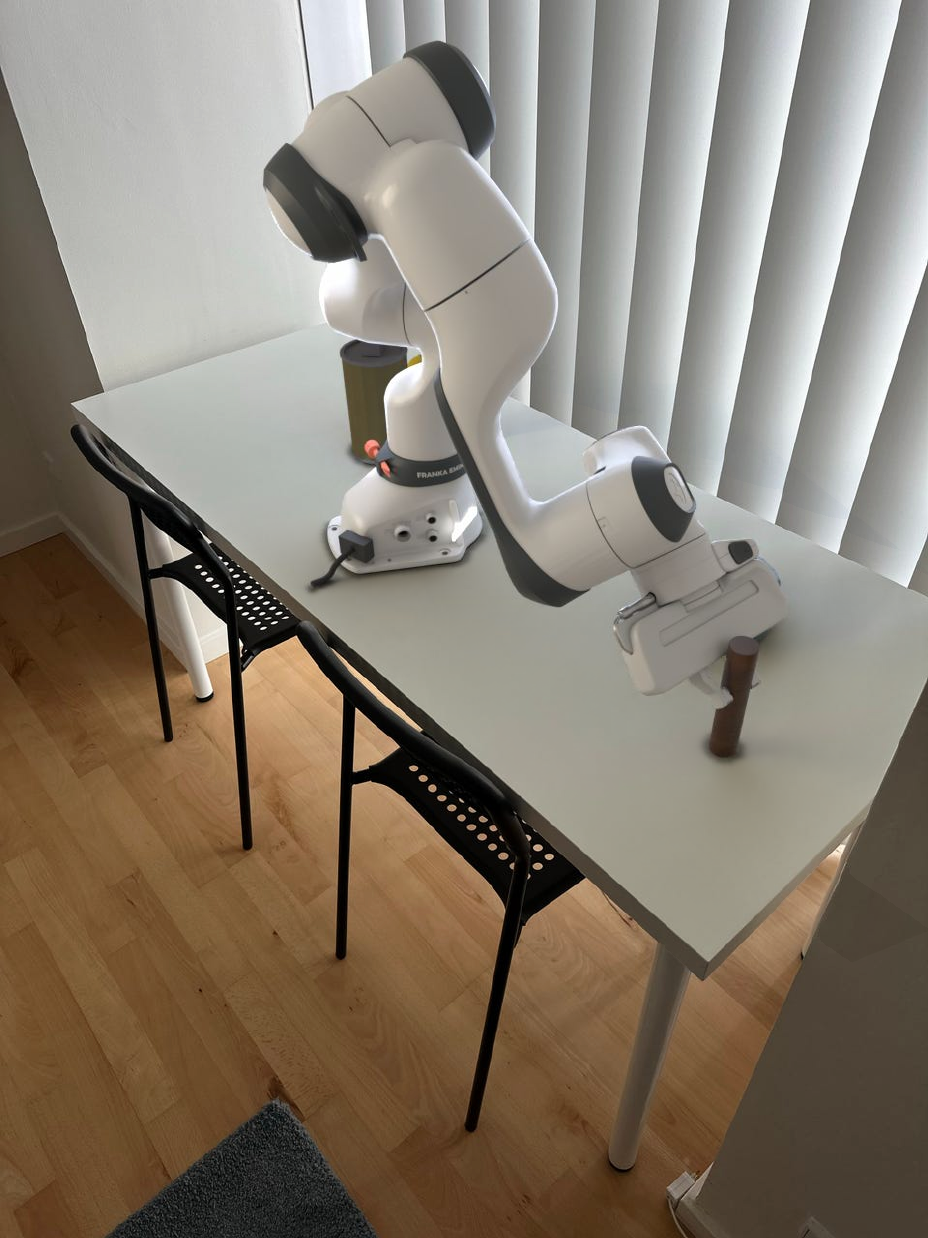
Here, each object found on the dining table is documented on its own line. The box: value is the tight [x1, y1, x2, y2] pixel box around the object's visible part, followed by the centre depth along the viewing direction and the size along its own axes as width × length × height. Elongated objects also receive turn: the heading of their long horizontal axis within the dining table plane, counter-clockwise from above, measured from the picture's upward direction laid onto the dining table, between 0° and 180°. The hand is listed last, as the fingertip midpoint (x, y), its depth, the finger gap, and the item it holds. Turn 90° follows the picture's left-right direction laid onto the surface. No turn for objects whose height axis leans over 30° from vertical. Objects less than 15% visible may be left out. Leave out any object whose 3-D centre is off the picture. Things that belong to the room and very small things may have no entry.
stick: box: [708, 636, 761, 758], centre depth 99 cm, size 3×3×15 cm
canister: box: [339, 339, 408, 466], centre depth 150 cm, size 11×10×20 cm
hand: (739, 696), depth 98 cm, fingers closed on stick, 3 cm apart
